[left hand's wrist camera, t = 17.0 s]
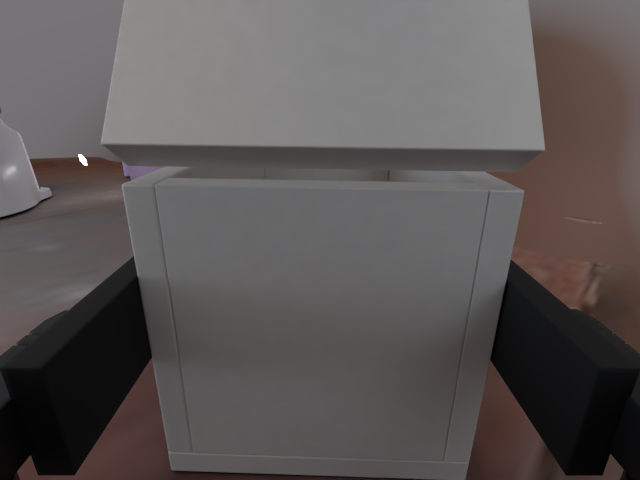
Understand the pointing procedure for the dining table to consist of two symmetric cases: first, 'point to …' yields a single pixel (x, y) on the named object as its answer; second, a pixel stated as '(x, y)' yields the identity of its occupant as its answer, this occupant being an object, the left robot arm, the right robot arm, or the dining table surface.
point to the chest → (321, 315)
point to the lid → (325, 85)
